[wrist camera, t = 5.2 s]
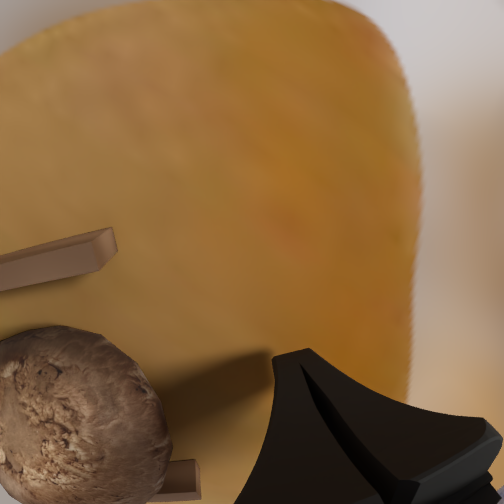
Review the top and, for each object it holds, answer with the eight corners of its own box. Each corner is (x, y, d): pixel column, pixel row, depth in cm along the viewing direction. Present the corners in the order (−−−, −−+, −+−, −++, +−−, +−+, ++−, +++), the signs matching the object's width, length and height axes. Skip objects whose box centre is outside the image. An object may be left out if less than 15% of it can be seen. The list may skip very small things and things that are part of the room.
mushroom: (152, 525, 10) (95, 593, 4) (23, 434, 11) (-65, 441, 5) (220, 386, 12) (186, 400, 6) (73, 304, 13) (-15, 260, 8)
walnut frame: (199, 468, 13) (201, 499, 11) (53, 468, 12) (44, 493, 10) (112, 226, 9) (90, 241, 7) (-55, 272, 8) (-82, 288, 7)
